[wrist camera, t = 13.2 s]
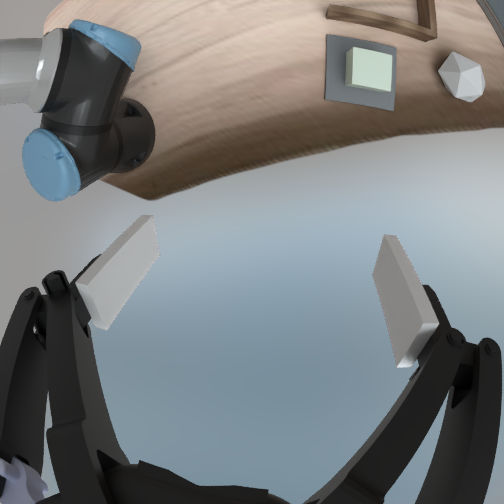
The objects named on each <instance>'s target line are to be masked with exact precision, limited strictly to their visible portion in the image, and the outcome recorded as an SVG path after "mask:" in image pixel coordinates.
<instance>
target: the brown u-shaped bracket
mask: <svg viewBox="0 0 504 504" xmlns="http://www.w3.org/2000/svg"><path fill="white" fill-rule="evenodd" d="M417 7H418V20H419V25H416V24H413V23H410V22H407V21H404V20H401V19H397V18H394V17H390V16H386V15H382V14H378V13H374V12H370V11H365V10H360V9H355V8H349V7H343V6H337V5H329V8H328V10H327V13H326V15H327V19H331V20H339V21H345V22H351V23H356V24H362V25H367V26H371V27H376V28H380V29H384V30H388V31H392V32H395V33H399V34H402V35H406V36H409V37H412V38H415V39H418V40H421V41H424V42H426V41H429V40H433V39H436V38H437V23H436V12H435V3H434V0H417Z"/></svg>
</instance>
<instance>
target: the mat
mask: <svg viewBox="0 0 504 504" xmlns="http://www.w3.org/2000/svg"><path fill="white" fill-rule="evenodd" d="M352 47H357V48H362V49H367V50H372V51H376V52H381V53H385V54H389V55H392V78H391V92H378V91H374V90H369V89H363V88H358V87H352V86H346V85H345V76H346V53H347V52H348V51H349V50H350V49H351V48H352ZM395 84H396V48H395V47H391V46H387V45H383V44H379V43H374V42H370V41H365V40H360V39H354V38H349V37H342V36H336V35H328V34H327V54H326V88H325V100H332V101H340V102H347V103H353V104H360V105H365V106H371V107H376V108H381V109H386V110H390V111H394V100H395Z"/></svg>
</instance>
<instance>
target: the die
mask: <svg viewBox="0 0 504 504" xmlns="http://www.w3.org/2000/svg"><path fill="white" fill-rule="evenodd" d="M438 72H439V74H440V76H441V78H442V81H443V83H444V85H445V87H446V89H447V90H448V91H449V92H450V93H451V94H453V95H454V96H455V97H456V98H459V99H462V100H465V101H468V102H472V101H474V100H475V99H477V98H478V97H479V96H481V95H482V93H483V90H484V87H485V80H484V76H483V73H482V69H481V66H480V65H479V64H477V63H475V62H473V61H472V60H470V59H468V58H466V57H464V56H462V55H460V54H458V53H455V52H453V51H452V52H451V54H450V55H449V57H448V58H447V59H446V61H445V62H444V63H443V65H442V66H441V67H440V69H439V70H438Z"/></svg>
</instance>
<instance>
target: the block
mask: <svg viewBox="0 0 504 504" xmlns="http://www.w3.org/2000/svg"><path fill="white" fill-rule="evenodd" d="M391 78H392V55H389V54H385V53H381V52H376V51H372V50H367V49H362V48H357V47H352V48H351V49H350V50H349V51H348V52H347V53H346V76H345V85H346V86H352V87H358V88H363V89H369V90H374V91H378V92H391Z"/></svg>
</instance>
